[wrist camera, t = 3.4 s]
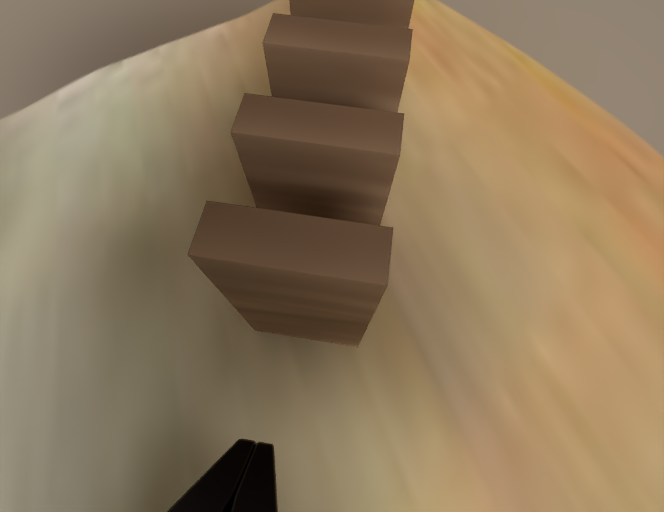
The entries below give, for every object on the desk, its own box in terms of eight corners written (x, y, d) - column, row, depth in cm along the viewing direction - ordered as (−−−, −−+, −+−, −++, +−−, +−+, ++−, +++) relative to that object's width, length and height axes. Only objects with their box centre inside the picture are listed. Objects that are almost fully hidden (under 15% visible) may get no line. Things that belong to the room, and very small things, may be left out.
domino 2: (367, 269, 18) (399, 154, 10) (273, 255, 19) (230, 132, 10) (370, 242, 19) (404, 113, 11) (280, 229, 19) (244, 93, 11)
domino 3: (375, 205, 20) (409, 60, 12) (289, 192, 20) (262, 42, 12) (378, 182, 21) (412, 29, 12) (294, 170, 21) (273, 13, 13)
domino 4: (382, 149, 21) (416, -12, 13) (302, 139, 22) (287, -26, 13) (384, 130, 22) (418, -36, 14) (307, 120, 22) (295, -49, 14)
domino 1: (357, 346, 17) (387, 285, 8) (255, 330, 17) (187, 254, 9) (361, 314, 17) (393, 227, 9) (262, 298, 18) (206, 201, 9)
